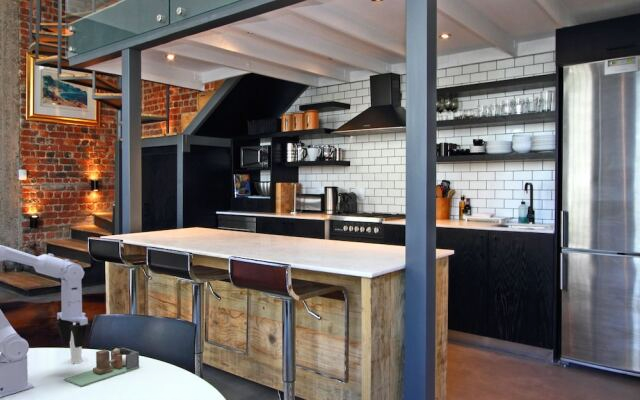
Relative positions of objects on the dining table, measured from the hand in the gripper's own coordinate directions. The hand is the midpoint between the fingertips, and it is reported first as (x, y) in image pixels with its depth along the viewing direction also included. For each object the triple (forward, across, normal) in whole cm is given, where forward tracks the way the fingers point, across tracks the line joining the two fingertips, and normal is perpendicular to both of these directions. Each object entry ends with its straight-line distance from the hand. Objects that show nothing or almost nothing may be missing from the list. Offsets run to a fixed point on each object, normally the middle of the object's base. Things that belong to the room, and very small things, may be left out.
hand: (72, 344), depth 159 cm
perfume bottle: (+10, +11, -7) cm, 16 cm away
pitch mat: (+9, -7, -6) cm, 13 cm away
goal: (+9, -7, -13) cm, 18 cm away
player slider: (+9, -7, -8) cm, 13 cm away
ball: (+7, -7, -13) cm, 16 cm away
